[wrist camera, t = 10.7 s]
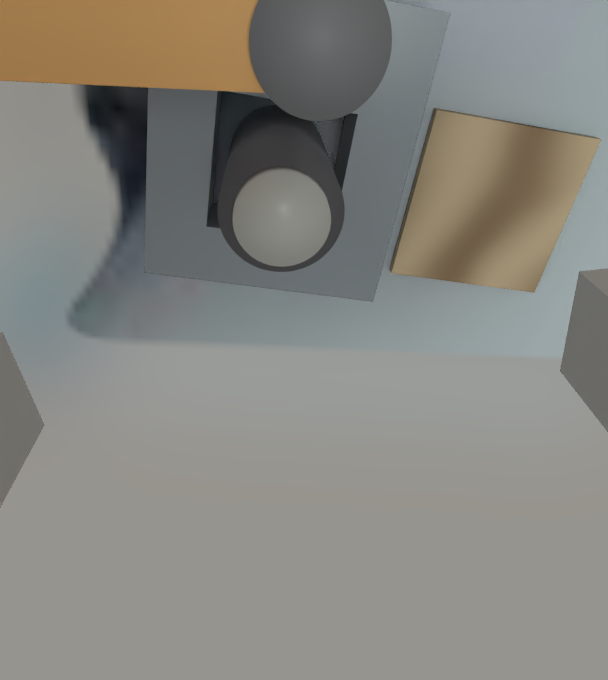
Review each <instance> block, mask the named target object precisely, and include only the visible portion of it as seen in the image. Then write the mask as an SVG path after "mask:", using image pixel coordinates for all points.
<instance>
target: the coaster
mask: <svg viewBox="0 0 608 680" xmlns="http://www.w3.org/2000/svg"><path fill="white" fill-rule="evenodd" d="M600 141H601V139H599V138H596V137H591V136H585V135H580V134H574V133H568V132H563V131H557V130H552V129H546V128H541V127H535V126H530V125H524V124H519V123H513V122H508V121H502V120H497V119H491V118H486V117H480V116H475V115H469V114H464V113H458V112H453V111H447V110H442V109H436V108H434V111H433V115H432V119H431V122H430V126H429V129H428V133H427V137H426V140H425V144H424V148H423V151H422V155H421V158H420V162H419V166H418V169H417V173H416V176H415V180H414V184H413V187H412V191H411V195H410V198H409V202H408V205H407V209H406V213H405V216H404V220H403V224H402V227H401V231H400V234H399V238H398V242H397V245H396V249H395V252H394V256H393V260H392V263H391V267H390V271H391V273H394V274H402V275H409V276H416V277H424V278H431V279H439V280H446V281H453V282H461V283H468V284H475V285H483V286H490V287H497V288H505V289H512V290H520V291H527V292H535V290H536V287H537V285H538V283H539V281H540V278H541V276H542V274H543V271H544V269H545V267H546V265H547V262H548V260H549V258H550V255H551V253H552V251H553V249H554V246H555V244H556V242H557V239H558V237H559V235H560V233H561V230H562V228H563V226H564V223H565V221H566V219H567V217H568V214H569V212H570V210H571V207H572V205H573V203H574V201H575V198H576V196H577V194H578V191H579V189H580V187H581V185H582V182H583V180H584V178H585V176H586V173H587V171H588V169H589V166H590V164H591V162H592V160H593V157H594V155H595V153H596V150H597V148H598V146H599V144H600Z"/></svg>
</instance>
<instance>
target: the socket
mask: <svg viewBox="0 0 608 680" xmlns="http://www.w3.org/2000/svg"><path fill="white" fill-rule="evenodd" d="M384 2H385V4H386V6H387V9H388V13H389V16H390V21H391V27H392V49H391V55H390V60H389V63H388V67H387V70H386V72H385V75H384V77H383V79H382V81H381V83H380V84H379V86H378V88H377V89H376V91H375V92H374V93H373V95H372V96H371V97H370V98H369V99H368V100H367V101H366V102H365V103H364V104H363V105H362V106H360V107H359V108H358V109H356V110H355V111H353V112H352V113H350V114H348V115H345V120H344V125H343V130H342V135H341V140H340V145H339V150H338V155H337V160H336V165H335V170H334V173H335V175H336V178H337V180H338V183H339V186H340V188H341V191H342V195H343V198H344V206H345V216H344V222H343V226H342V230H341V232H340V235H339V237H338V239H337V241H336V242H335V244H334V245H333V247H332V248H331V249H330V250H329V252H328V253H327V254H325V255H324V256H323V257H322V258H321V259H319V260H318V261H317V262H315V263H313V264H312V265H310V266H307V267H305V268H302V269H299V270H295V271H289V272H273V271H268V270H263V269H260V268H257V267H255V266H253V265H251V264H249V263H247V262H246V261H244V260H243V259H242V258H240V257H239V256H238V255H237V254H236V253H235V252H234V251H233V250H232V249H231V247H230V246H229V245H228V243H227V242H226V240H225V238H224V236H223V234H222V232H221V229H220V225H219V221H218V213H217V212H218V204H212V203H213V192H214V180H215V168H216V157H217V145H218V133H219V122H220V110H221V98H222V91H213V90H191V89H169V88H148V118H147V167H146V216H145V265H144V273H152V274H160V275H167V276H175V277H183V278H191V279H199V280H207V281H214V282H222V283H230V284H238V285H246V286H254V287H262V288H269V289H277V290H285V291H293V292H301V293H309V294H316V295H324V296H332V297H340V298H348V299H356V300H363V301H371V302H373V300H374V296H375V292H376V289H377V285H378V281H379V277H380V274H381V270H382V266H383V263H384V259H385V255H386V251H387V248H388V244H389V240H390V236H391V233H392V229H393V225H394V221H395V218H396V214H397V210H398V207H399V203H400V199H401V195H402V192H403V188H404V184H405V180H406V177H407V173H408V169H409V165H410V162H411V158H412V154H413V151H414V147H415V143H416V139H417V136H418V132H419V128H420V124H421V121H422V117H423V113H424V110H425V106H426V102H427V98H428V95H429V91H430V87H431V83H432V80H433V76H434V72H435V68H436V65H437V61H438V57H439V54H440V50H441V46H442V42H443V39H444V35H445V31H446V27H447V24H448V20H449V16H450V13H446V12H442V11H437V10H432V9H427V8H422V7H417V6H413V5H408V4H403V3H398V2H393V1H388V0H384ZM229 92H234V91H229ZM234 93H240V94H246V95H251V96H257V97H263V98H268V99H270V98H269V97H268V96H267V94H266V93H256V92H234Z"/></svg>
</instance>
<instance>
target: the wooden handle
mask: <svg viewBox="0 0 608 680" xmlns="http://www.w3.org/2000/svg"><path fill="white" fill-rule="evenodd" d="M391 49H392V27H391V21H390V16H389V13H388V9H387V6H386V4H385V2H384V0H0V81H20V82H41V83H62V84H83V85H105V86H126V87H148V88H169V89H191V90H213V91H234V92H256V93H266V94H267V96H268V97H269V98H270V99H271V100H272V101H273V102H274V103H275V104H276V105H277V106H278V107H280V108H281V109H282V110H284V111H285V112H287V113H289V114H291V115H293V116H295V117H298V118H301V119H305V120H309V121H328V120H334V119H337V118H341V117H343V116H345V115H348V114H350V113H352V112H353V111H355V110H356V109H358V108H359V107H360V106H362V105H363V104H364V103H365V102H366V101H367V100H368V99H369V98H370V97H371V96H372V95H373V93H374V92H375V91H376V89H377V88H378V86H379V84H380V83H381V81H382V79H383V77H384V75H385V72H386V70H387V67H388V63H389V60H390V55H391Z"/></svg>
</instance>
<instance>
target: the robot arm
mask: <svg viewBox="0 0 608 680" xmlns="http://www.w3.org/2000/svg"><path fill="white" fill-rule="evenodd" d="M560 371H561V373H562V374H563V375H564V376H565V378H566V379H567V380H568V382H569V383H570V384H571V386H572V387H573V388H574V389H575V391H576V392H577V393H578V394H579V396H580V397H581V398H582V399H583V401H584V402H585V403H586V405H587V406H588V407H589V409H590V410H591V411H592V412H593V414H594V415H595V416H596V417H597V419H598V420H599V421H600V423H601V424H602V425H603V426H604V428H605V429H606V430H607V432H608V269H599V270H589V271H580V272H579V275H578V280H577V286H576V291H575V296H574V301H573V306H572V312H571V317H570V322H569V327H568V332H567V337H566V343H565V348H564V353H563V358H562V364H561V369H560ZM43 426H44V423H43V421H42V419H41V416H40V415H39V412H38V410H37V408H36V405H35V403H34V401H33V399H32V397H31V394H30V392H29V390H28V388H27V385H26V383H25V381H24V379H23V376H22V374H21V372H20V370H19V368H18V366H17V363H16V361H15V359H14V357H13V355H12V352H11V350H10V348H9V346H8V343H7V341H6V339H5V337H4V334H3V333H0V507H1V505H2V503H3V501H4V499H5V497H6V496H7V494H8V492H9V490H10V488H11V486H12V484H13V483H14V481H15V479H16V477H17V475H18V473H19V471H20V470H21V468H22V466H23V464H24V462H25V460H26V458H27V456H28V455H29V453H30V451H31V449H32V447H33V445H34V443H35V441H36V440H37V438H38V436H39V434H40V432H41V430H42V428H43Z"/></svg>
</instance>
